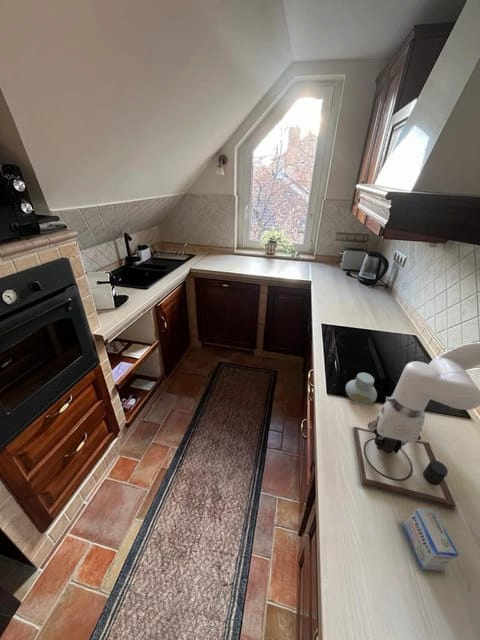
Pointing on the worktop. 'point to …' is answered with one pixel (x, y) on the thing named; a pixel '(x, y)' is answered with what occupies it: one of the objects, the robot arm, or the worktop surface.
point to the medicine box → (429, 540)
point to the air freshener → (362, 389)
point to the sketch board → (399, 469)
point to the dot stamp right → (435, 472)
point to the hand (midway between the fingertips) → (386, 446)
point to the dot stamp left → (389, 444)
